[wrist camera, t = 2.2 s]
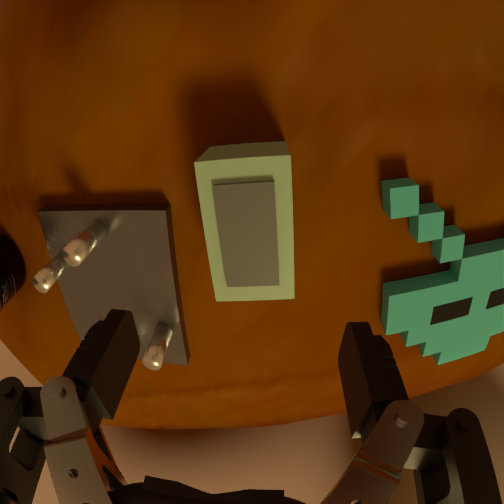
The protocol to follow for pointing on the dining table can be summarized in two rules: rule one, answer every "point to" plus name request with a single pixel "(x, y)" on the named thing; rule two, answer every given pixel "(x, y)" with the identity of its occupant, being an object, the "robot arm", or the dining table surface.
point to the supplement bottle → (10, 271)
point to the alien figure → (443, 283)
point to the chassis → (118, 272)
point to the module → (248, 219)
